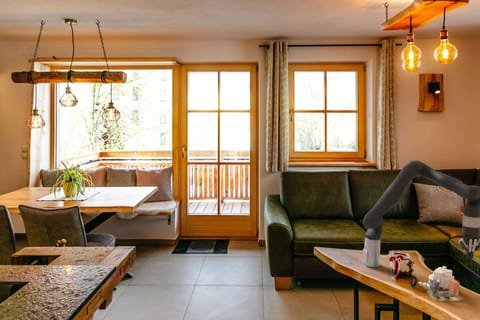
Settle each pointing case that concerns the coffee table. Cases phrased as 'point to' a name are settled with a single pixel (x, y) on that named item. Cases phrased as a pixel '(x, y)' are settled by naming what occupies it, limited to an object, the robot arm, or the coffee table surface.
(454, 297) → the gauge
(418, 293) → the coffee table surface
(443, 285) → the mechanical part
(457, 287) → the carriage
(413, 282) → the valve
